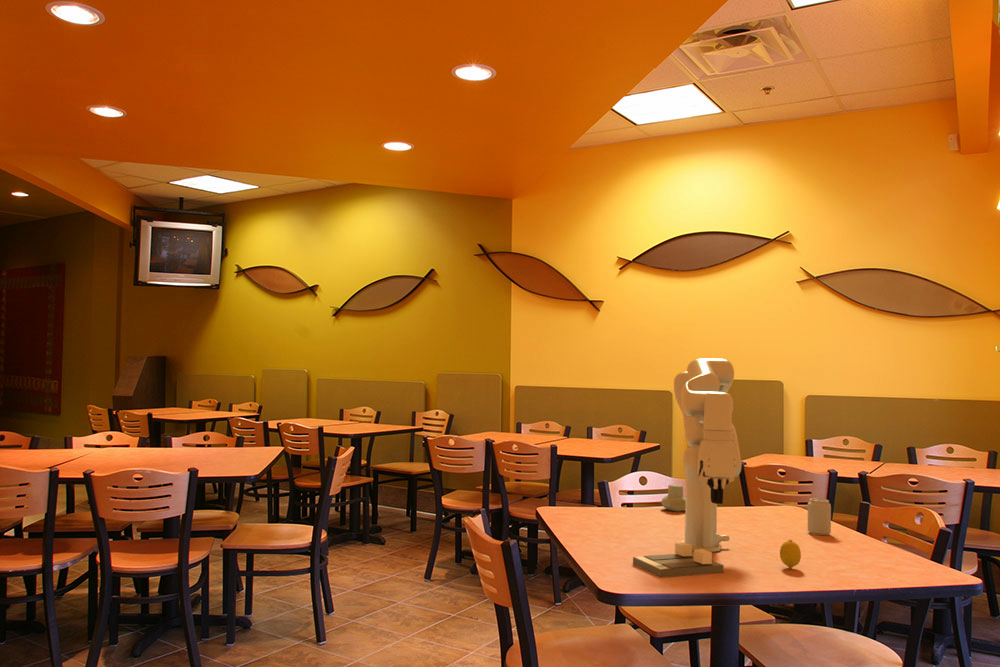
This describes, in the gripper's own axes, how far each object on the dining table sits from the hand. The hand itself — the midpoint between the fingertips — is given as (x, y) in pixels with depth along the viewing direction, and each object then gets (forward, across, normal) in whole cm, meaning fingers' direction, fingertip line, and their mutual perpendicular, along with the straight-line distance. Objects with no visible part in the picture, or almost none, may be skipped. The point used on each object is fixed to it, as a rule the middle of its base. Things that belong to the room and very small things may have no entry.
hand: (716, 503), depth 207 cm
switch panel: (+18, +10, -4) cm, 21 cm away
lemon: (+18, -23, +3) cm, 29 cm away
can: (+17, -67, -36) cm, 78 cm away
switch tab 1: (+16, +5, -9) cm, 19 cm away
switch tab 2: (+16, +5, 0) cm, 16 cm away
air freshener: (+17, -40, -86) cm, 96 cm away
